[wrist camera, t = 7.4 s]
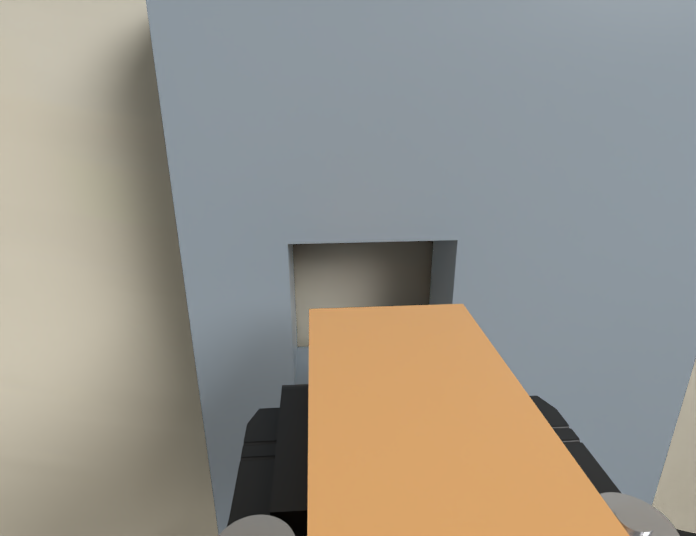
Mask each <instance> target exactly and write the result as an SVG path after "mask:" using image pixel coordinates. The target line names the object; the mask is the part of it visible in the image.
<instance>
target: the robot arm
mask: <svg viewBox="0 0 696 536" xmlns="http://www.w3.org/2000/svg"><path fill="white" fill-rule="evenodd" d="M308 388H309V384H296V385H282V390H281V401H280V408H260V409H258V411H257V412H256V413H255V415H254V416H253V417H252V418H251V420H250V421H249V422H248V424H247V427H246V432H245V437H244V445H243V448H242V453H241V461H240V463H239V468H238V474H237V479H236V484H235V489H234V495H233V500H232V505H231V510H230V516H229V520H228V524H227V527H226V528H225V529H224V530H223V531H222V532H221V533H220V534H219V536H307V511H308ZM530 398H531V399H532V400H533V402H534V403H535V405H536V406H537V407H538V409H539V410H540V412H541V413H542V414H543V416H544V417H545V419H546V420H547V421H548V423H549V424H550V426H551V427H552V428H553V430H554V431H555V433H556V434H557V435H558V437H559V438H560V439H561V441H562V442H563V444H564V445H565V446H566V448H567V449H568V451H569V452H570V453H571V455H572V456H573V458H574V459H575V460H576V462H577V463H578V465H579V466H580V467H581V469H582V470H583V471H584V473H585V474H586V476H587V477H588V478H589V480H590V481H591V483H592V484H593V485H594V487H595V488H596V490H597V491H598V492H599V494H600V495H601V497H602V498H603V499H604V501H605V502H606V504H607V505H608V506H609V508H610V509H611V510H612V512H613V513H614V515H615V516H616V517H617V519H618V520H619V522H620V523H621V524H622V526H623V527H624V529H625V530H626V531H627V533H628V534H629V536H696V534H695V533H690V532H685V531H682V530H678V529H676V528H675V527H674V525H673V524H672V523H671V522H670V520H669V519H668V518H667V517H666V516H665V515H663V514H662V513H661V512H660V511H659V510H657V509H656V508H655V507H653V506H651V505H650V504H648V503H646V502H644V501H642V500H641V499H638V498H636V497H633V496H630V495H627V494H622V493H621V492H620V490H619V489H618V488H617V487H616V485H615V484H614V483H613V481H612V480H611V479H610V478H609V476H608V475H607V474H606V472H605V471H604V470H603V468H602V467H601V466H600V465H599V463H598V462H597V461H596V459H595V458H594V457H593V456H592V454H591V453H590V452H589V450H588V449H587V448H586V447H585V445H584V444H583V443H582V442H581V443H580V439H579V437H578V436H577V435H576V434H575V432H574V431H573V430H572V429H570V428H569V425H568V423H567V422H566V421H565V419H564V418H563V417H562V415H561V414H560V413H559V412H558V410H557V409H556V408H554V407H553V406H551V405H550V404H549V403H547V402H546V401H544V400H543V399H541V398H540V397H539V396H530Z"/></svg>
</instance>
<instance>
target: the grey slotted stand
mask: <svg viewBox="0 0 696 536" xmlns="http://www.w3.org/2000/svg"><path fill="white" fill-rule="evenodd" d="M146 4H147V12H148V19H149V26H150V34H151V41H152V48H153V56H154V63H155V70H156V78H157V85H158V92H159V100H160V107H161V114H162V122H163V129H164V137H165V144H166V151H167V159H168V166H169V173H170V181H171V188H172V195H173V203H174V210H175V217H176V225H177V232H178V239H179V247H180V254H181V261H182V269H183V276H184V283H185V291H186V298H187V306H188V313H189V320H190V328H191V335H192V342H193V350H194V357H195V364H196V372H197V379H198V386H199V394H200V401H201V408H202V416H203V423H204V430H205V438H206V445H207V452H208V460H209V467H210V475H211V482H212V489H213V497H214V504H215V511H216V519H217V526H218V533H219V534H220V533H221V532H222V531H223V530H224V529H225V528H226V527H227V524H228V520H229V516H230V510H231V505H232V500H233V495H234V489H235V484H236V479H237V474H238V468H239V463H240V461H241V453H242V448H243V445H244V437H245V432H246V427H247V424H248V422H249V421H250V420H251V418H252V417H253V416H254V415H255V413H256V412H257V411H258V409H260V408H280V401H281V390H282V385H296V384H309V347H297V325H296V304H295V282H294V261H293V244H315V243H357V242H398V241H433V254H432V269H431V285H430V300H429V305H439V304H464V306H465V307H466V309H467V310H468V311H469V313H470V314H471V316H472V317H473V318H474V320H475V321H476V323H477V324H478V325H479V327H480V328H481V330H482V331H483V332H484V334H485V335H486V336H487V338H488V339H489V341H490V342H491V343H492V345H493V346H494V348H495V349H496V350H497V352H498V353H499V355H500V356H501V357H502V359H503V360H504V362H505V363H506V364H507V366H508V367H509V368H510V370H511V371H512V373H513V374H514V375H515V377H516V378H517V380H518V381H519V382H520V384H521V385H522V387H523V388H524V389H525V391H526V392H527V394H528V395H529V396H539V397H540V398H541V399H543V400H544V401H546V402H547V403H549V404H550V405H551V406H553V407H554V408H556V409H557V410H558V412H559V413H560V414H561V415H562V417H563V418H564V419H565V421H566V422H567V423H568V425H569V428H570V429H572V430H573V431H574V432H575V434H576V435H577V436H578V437H579V439H580V443H581V442H582V443H583V444H584V445H585V447H586V448H587V449H588V450H589V452H590V453H591V454H592V456H593V457H594V458H595V459H596V461H597V462H598V463H599V465H600V466H601V467H602V468H603V470H604V471H605V472H606V474H607V475H608V476H609V478H610V479H611V480H612V481H613V483H614V484H615V485H616V487H617V488H618V489H619V490H620V492H621V493H622V494H627V495H630V496H633V497H636V498H638V499H641V500H642V501H644V502H646V503H648V504H650V505H651V506H652V503H653V500H654V496H655V493H656V490H657V486H658V483H659V480H660V476H661V473H662V470H663V466H664V463H665V460H666V456H667V453H668V449H669V446H670V443H671V439H672V436H673V433H674V429H675V426H676V423H677V419H678V416H679V413H680V409H681V406H682V402H683V399H684V396H685V392H686V389H687V386H688V382H689V379H690V376H691V372H692V369H693V366H694V362H695V359H696V0H146Z"/></svg>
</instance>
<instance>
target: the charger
mask: <svg viewBox="0 0 696 536" xmlns="http://www.w3.org/2000/svg"><path fill="white" fill-rule="evenodd" d="M307 536H629V534H628V533H627V531H626V530H625V529H624V527H623V526H622V524H621V523H620V522H619V520H618V519H617V517H616V516H615V515H614V513H613V512H612V510H611V509H610V508H609V506H608V505H607V504H606V502H605V501H604V499H603V498H602V497H601V495H600V494H599V492H598V491H597V490H596V488H595V487H594V485H593V484H592V483H591V481H590V480H589V478H588V477H587V476H586V474H585V473H584V471H583V470H582V469H581V467H580V466H579V465H578V463H577V462H576V460H575V459H574V458H573V456H572V455H571V453H570V452H569V451H568V449H567V448H566V446H565V445H564V444H563V442H562V441H561V439H560V438H559V437H558V435H557V434H556V433H555V431H554V430H553V428H552V427H551V426H550V424H549V423H548V421H547V420H546V419H545V417H544V416H543V414H542V413H541V412H540V410H539V409H538V407H537V406H536V405H535V403H534V402H533V400H532V399H531V398H530V396H529V395H528V394H527V392H526V391H525V389H524V388H523V387H522V385H521V384H520V382H519V381H518V380H517V378H516V377H515V375H514V374H513V373H512V371H511V370H510V368H509V367H508V366H507V364H506V363H505V362H504V360H503V359H502V357H501V356H500V355H499V353H498V352H497V350H496V349H495V348H494V346H493V345H492V343H491V342H490V341H489V339H488V338H487V336H486V335H485V334H484V332H483V331H482V330H481V328H480V327H479V325H478V324H477V323H476V321H475V320H474V318H473V317H472V316H471V314H470V313H469V311H468V310H467V309H466V307H465V306H464V304H439V305H409V306H380V307H351V308H321V309H309V388H308V511H307Z"/></svg>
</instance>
